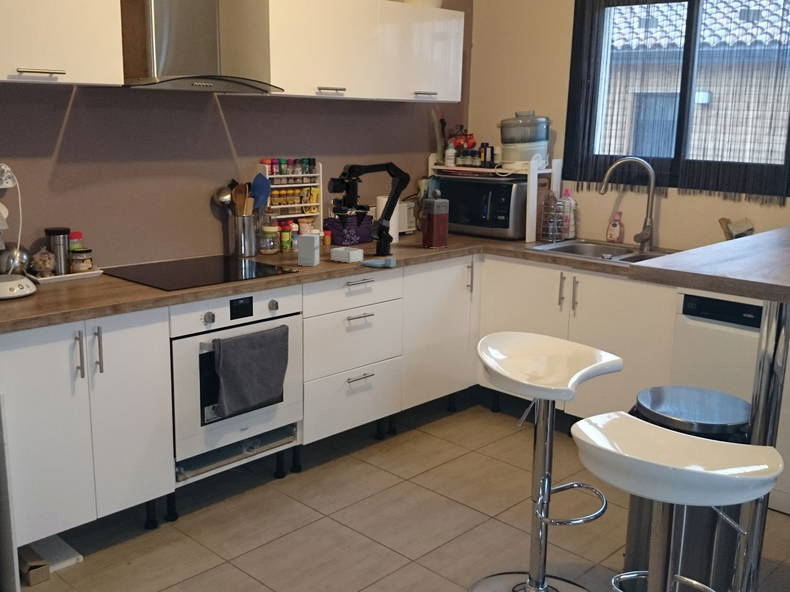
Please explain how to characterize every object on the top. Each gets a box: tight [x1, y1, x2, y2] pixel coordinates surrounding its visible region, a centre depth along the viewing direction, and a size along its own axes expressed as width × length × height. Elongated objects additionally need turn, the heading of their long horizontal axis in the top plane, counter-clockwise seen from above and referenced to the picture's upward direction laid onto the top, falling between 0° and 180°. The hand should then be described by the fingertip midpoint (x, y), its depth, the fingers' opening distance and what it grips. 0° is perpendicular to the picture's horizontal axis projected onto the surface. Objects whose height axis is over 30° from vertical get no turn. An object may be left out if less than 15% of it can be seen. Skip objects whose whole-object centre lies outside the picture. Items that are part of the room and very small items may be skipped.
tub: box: [330, 246, 364, 264], centre depth 347 cm, size 11×9×5 cm
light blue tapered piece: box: [359, 256, 397, 269], centre depth 335 cm, size 14×9×4 cm, turn 50°
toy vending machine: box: [420, 189, 450, 247], centre depth 387 cm, size 9×11×28 cm
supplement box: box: [297, 233, 320, 267], centre depth 334 cm, size 7×7×13 cm
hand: (351, 228), depth 354 cm, fingers open, 9 cm apart
